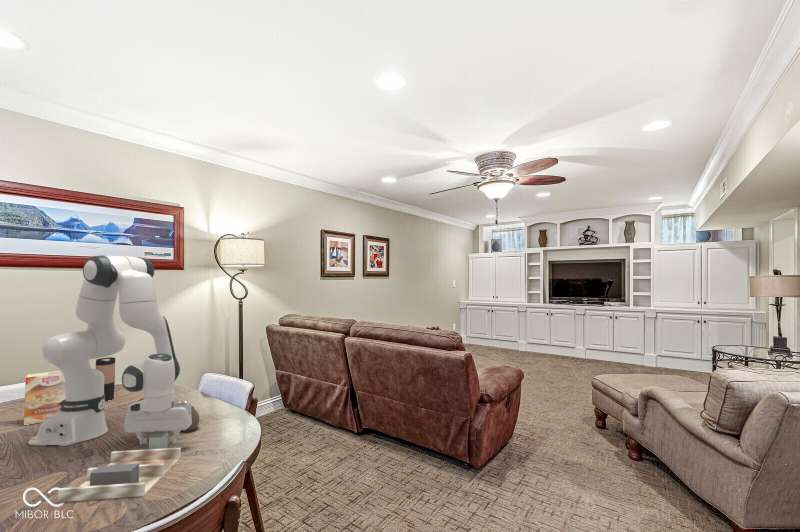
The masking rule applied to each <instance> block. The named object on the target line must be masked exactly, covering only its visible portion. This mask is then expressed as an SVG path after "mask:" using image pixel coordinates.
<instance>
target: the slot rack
mask: <svg viewBox="0 0 800 532" xmlns="http://www.w3.org/2000/svg"><path fill="white" fill-rule="evenodd" d="M181 454H182V447H170V448H169V447H167V448H165V449H149V448H148V449H133V450H132V449H131V450H117V451H116V450H115V451H112V452H111V453H110V463H108V464H107V465H106V466H109V465H125V464H139V482H138V483H127V484H113V485H98V486H90V473H91V472H93V471H94V470H96V469H97V468H98V467H89V468H88V469H87V470H86V481H84V482H82V483H81V484H80V485H79V486H73V487H61V488H59V489H58V490H57V494H58V495H57V503H67V502H68V503H69V502H83V501H95V500H108V499H109V500H110V499H120V498H121V499H122V498H123V499H124V498H136V497H137V498H138V497H143V496H144V495H145V494H146V493H147V492H148V491H149V490H150V489H151V488H152V487H153V486H154V485H156V483H157V482H158V481H159V480H160V479H161V478H162V477H163V476H164V475H165V474H166V473H167V472H168V471H169V470H170V469H171V467H173V466H174V465H175V464H176V462H178V461H179V460H180V459H181V457H182V455H181Z"/></svg>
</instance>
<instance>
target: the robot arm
mask: <svg viewBox="0 0 800 532" xmlns="http://www.w3.org/2000/svg"><path fill="white" fill-rule="evenodd" d="M82 275H83V278H84V280H83V282H82V285H81V288H80V291H79V295H78V300H77V304H76V308H75V315H76V318H78V319H79V320H80V321H82V322H84V323H85V324H87V329H86V330H81V331H80V330H79V331H72V332H65V333H64V332H63V333H59V334H57V335H54V336H51V337H49V338H48V339H47V340H46V341H45V342H44V344H43V345H42V349H41V350H42V351H41V353H42V356H43V358H44V359H45V361H47V362H48V363H49V364H52V365H54V366H55V367H57V369H59V371H61V372H62V373H63V375H64V378H65V386H66V399H65V400H63V401H61V402H60V403H57V404H59V405H57V407H58V406H60V405H61V407H60V410H59V411H58V412H56V413H55V414H54V415H52V416H51V417H50V418H48V419H47V420H45V421H44V422H43V423H40V424H39V427H38V431H37V434H36V436H34V437H32V438H30V440H28V441H27V442H28V443H27V445H28V444H29V445H28V446H46V445H59V446H58V447H67V446H70V445H74V444H76V443H81V442H86V441H90V440H92V439H96V438H98V437H101V436H103V435H104V434H106V433H108V432H109V428H108V426H107V420H106V417H105V416H106V415H105V409H106V402H105V394H104V374H103V373H102V372H101V371H99V370H97V369H96V368H94V367H93V368H92V367H91V364H90V360H94V359H100V358H107V357H108V356H112V355H114V354H117V353H119V352H121V351H122V350H123V348H124V346H125V344H126V336H125V334H124V333H123V332H122V331H121V330H120V329H119V328H117V326H116V325H115V322H114V314H115V307H116V302H117V299H118V306H119V307H118V310H119V311H118V312H119V316H120V318H121V321H123V323H124V324H126V325H127V326H129V327H131V328H134V329H136V330H137V329H138V330H141V331H144V332H147V333H149V334H150V335H151V336H152V338H153V343H154V345H155V351H156V353H154V354H150V355H149V356H147V357H146V358H145V359H144V360H141V361H140V362H136V363H134V364H131V365H128V366H127V367H126V368H125V369H124V371H123V373H122V376H121V384H122V386H123V388H124V389H125V390H127V392H130V393H138V392H142V391H143V392H144V395H143V398H140V399H138V400H135V401H133V402H132V403H129V405H127V407H126V411H127V413H126V414H125V417H124V422H123V430H124V432H126V434H132V433H135V434H136V435H135V436H136V437H137V440H139V446H145V445H147V443H148V437H145V435H144V433H148V432H151V433H152V432H154V431H168V432H171V431H172V433H173V434H174V435H173V436H171V437H170V438H169V444H175V443H177V437H178V435H179V434H180V433H181V431H182V430H186V429H187V428H189V427H190V426H191V424H192V417H191V410H192V406H193V405H192V404H191V403H190V402H188V401H187V400H186V401H185V400H184V401H183V400H182V401H175V393H176V392H175V388H174V384H175V381H177V379H178V377H179V375H180V373H181V367H180V363H179V361H178V358H177V355H176V352H175V348H174V343H173V339H172V335H171V330H170V327H169V323H168V320H167V318H166V317H165V316H163V315H162V314H161V311H160V310H159V308H158V307H159V306H158V302H157V292H156V287H155V286H156V285H155V283H154V278H153V277H154V275H155V265H154V264H153V262H152V261H151V260H149V259H147V258H146V257H145V258H144V257H140V256H138V257H135V256H131V255H130V256H129V255H103V254H101V255H100V254H99V255H93V256H91V257H89V258H88V259H87V260H86V261H85V262H84V264H83V266H82Z"/></svg>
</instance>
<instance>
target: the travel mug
mask: <svg viewBox="0 0 800 532" xmlns="http://www.w3.org/2000/svg"><path fill="white" fill-rule="evenodd" d="M95 369H97V370H99V371H101V372H102V373H103V374H104V394H105V401H107V402H109V401H108V400H111V401H113V400H114V399H115V387H116V386H115V385H116V384H115V383H116V381H115V380H116V358H115V357H100V358H96V359H95ZM113 398H114V399H113ZM112 399H113V400H112Z"/></svg>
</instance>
